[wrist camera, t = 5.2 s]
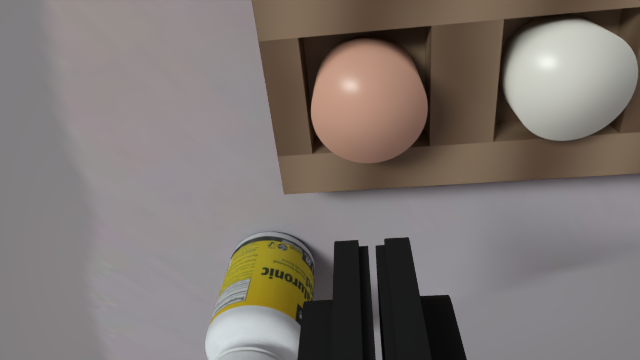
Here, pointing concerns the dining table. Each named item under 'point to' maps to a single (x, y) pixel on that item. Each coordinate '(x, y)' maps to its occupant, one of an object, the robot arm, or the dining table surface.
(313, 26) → the wooden compartment tray
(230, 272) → the supplement bottle
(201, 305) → the dining table surface
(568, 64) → the cream button
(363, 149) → the pink rounded dome
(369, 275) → the robot arm
